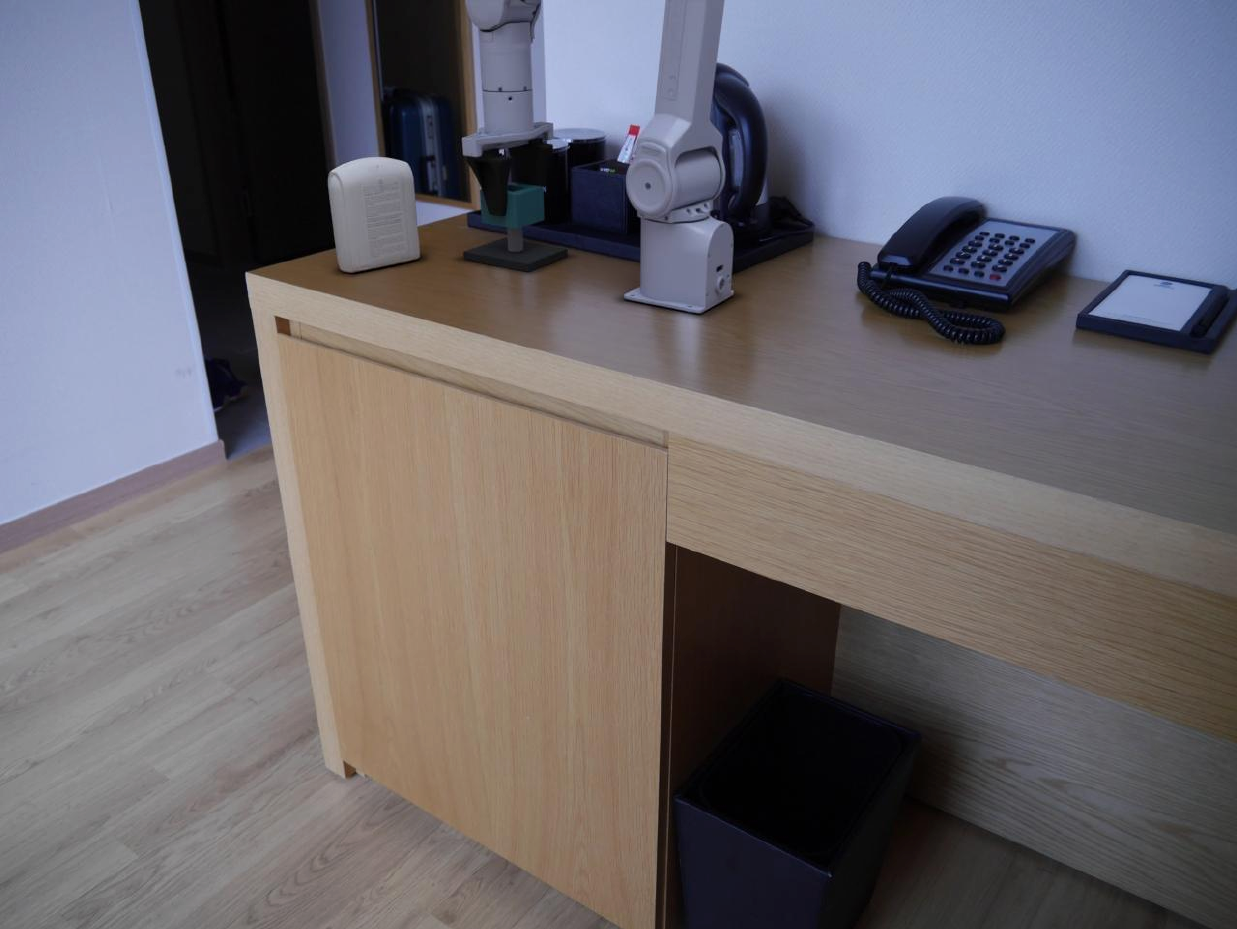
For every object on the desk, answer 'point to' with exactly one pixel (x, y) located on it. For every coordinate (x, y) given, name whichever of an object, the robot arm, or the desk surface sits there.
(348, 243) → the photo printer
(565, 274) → the desk surface
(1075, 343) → the desk surface
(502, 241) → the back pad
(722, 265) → the robot arm
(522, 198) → the teal block with hole
